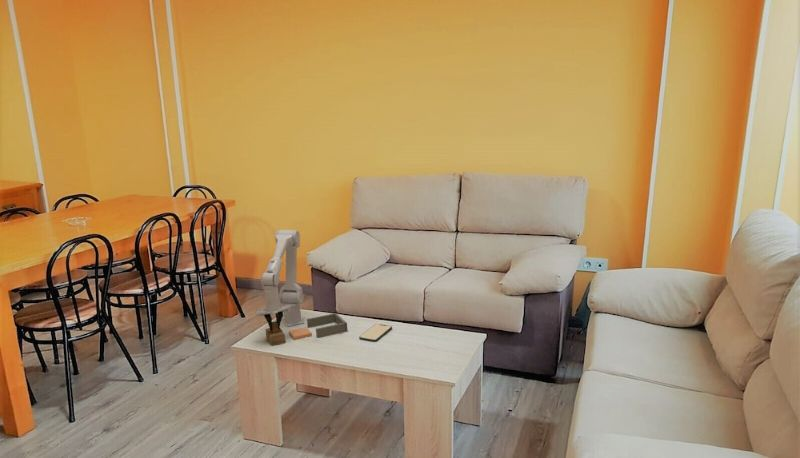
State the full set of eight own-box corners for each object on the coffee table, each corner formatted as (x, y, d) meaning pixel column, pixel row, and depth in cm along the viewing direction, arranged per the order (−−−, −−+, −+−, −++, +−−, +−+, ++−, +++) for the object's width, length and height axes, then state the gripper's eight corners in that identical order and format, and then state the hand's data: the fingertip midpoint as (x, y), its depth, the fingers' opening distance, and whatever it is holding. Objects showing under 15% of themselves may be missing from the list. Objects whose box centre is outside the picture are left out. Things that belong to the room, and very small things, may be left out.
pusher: (266, 337, 258) (264, 320, 257) (279, 334, 261) (278, 317, 259) (271, 345, 250) (270, 328, 248) (285, 342, 252) (284, 325, 250)
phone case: (376, 344, 249) (393, 329, 263) (375, 340, 249) (393, 326, 263) (358, 340, 253) (376, 326, 267) (357, 337, 253) (375, 323, 267)
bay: (307, 327, 268) (306, 318, 267) (336, 321, 274) (336, 313, 273) (317, 337, 256) (316, 329, 255) (347, 331, 262) (346, 322, 261)
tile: (289, 335, 262) (288, 330, 261) (306, 331, 265) (305, 327, 265) (294, 341, 255) (293, 337, 254) (312, 337, 258) (311, 333, 258)
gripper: (257, 305, 244) (260, 336, 248) (291, 299, 251) (293, 329, 254) (253, 300, 251) (256, 330, 254) (286, 294, 257) (289, 323, 260)
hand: (274, 329), depth 254 cm, fingers closed on pusher, 2 cm apart
